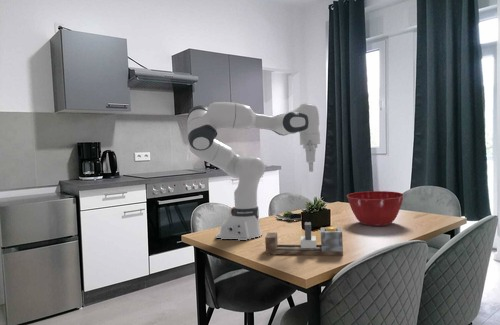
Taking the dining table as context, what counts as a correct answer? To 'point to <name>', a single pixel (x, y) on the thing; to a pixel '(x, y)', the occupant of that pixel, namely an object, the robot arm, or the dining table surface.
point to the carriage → (308, 237)
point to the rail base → (329, 246)
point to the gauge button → (330, 229)
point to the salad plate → (289, 216)
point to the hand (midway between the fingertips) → (311, 171)
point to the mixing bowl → (375, 206)
